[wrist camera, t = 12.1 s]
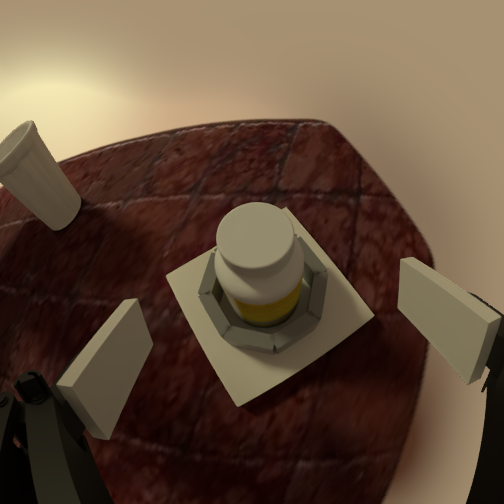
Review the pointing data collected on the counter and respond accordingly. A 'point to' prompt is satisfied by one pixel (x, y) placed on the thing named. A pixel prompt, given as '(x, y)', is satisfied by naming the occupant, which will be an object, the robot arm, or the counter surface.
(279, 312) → the supplement bottle
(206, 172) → the counter surface
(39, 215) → the cup
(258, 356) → the holder
